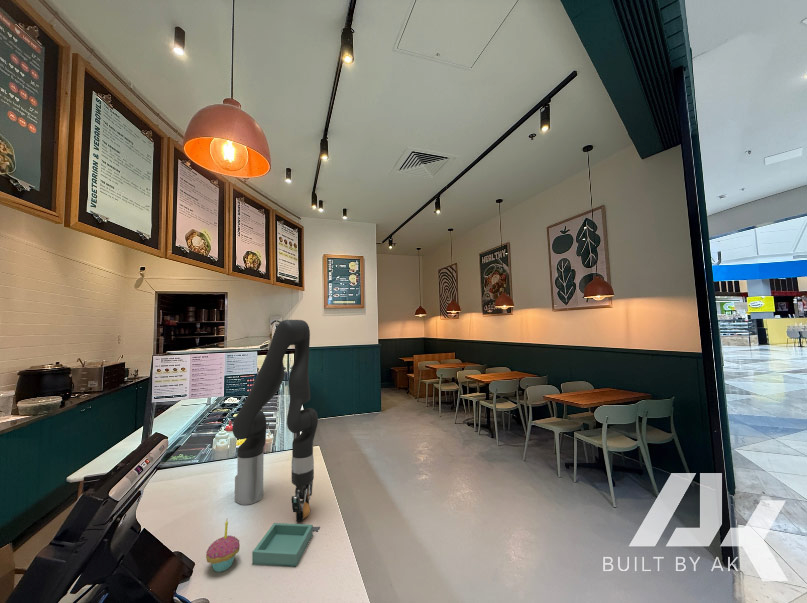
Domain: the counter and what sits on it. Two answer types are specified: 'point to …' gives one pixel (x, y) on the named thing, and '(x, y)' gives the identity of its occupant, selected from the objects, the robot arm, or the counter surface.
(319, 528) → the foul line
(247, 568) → the counter surface
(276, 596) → the counter surface
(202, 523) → the counter surface
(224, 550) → the cupcake
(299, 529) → the tray
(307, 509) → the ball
